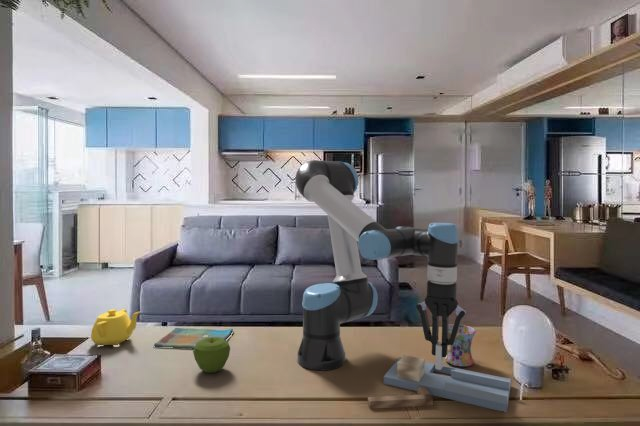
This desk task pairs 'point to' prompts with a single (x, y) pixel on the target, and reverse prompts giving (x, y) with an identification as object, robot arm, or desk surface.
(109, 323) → the teapot
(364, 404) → the desk surface
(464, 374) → the board
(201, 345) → the apple
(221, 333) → the colourful book
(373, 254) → the robot arm
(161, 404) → the desk surface
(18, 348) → the desk surface
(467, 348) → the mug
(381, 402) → the crook tool
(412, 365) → the block
